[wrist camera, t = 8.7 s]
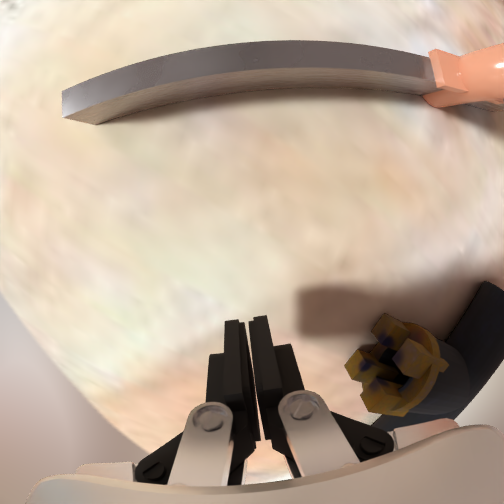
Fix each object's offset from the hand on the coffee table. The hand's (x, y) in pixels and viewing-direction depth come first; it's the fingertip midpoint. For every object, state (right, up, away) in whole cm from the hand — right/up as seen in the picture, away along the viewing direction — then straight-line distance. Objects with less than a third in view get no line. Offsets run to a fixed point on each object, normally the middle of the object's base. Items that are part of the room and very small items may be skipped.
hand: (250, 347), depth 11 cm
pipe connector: (+12, -4, +6) cm, 14 cm away
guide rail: (+4, +12, 0) cm, 13 cm away
